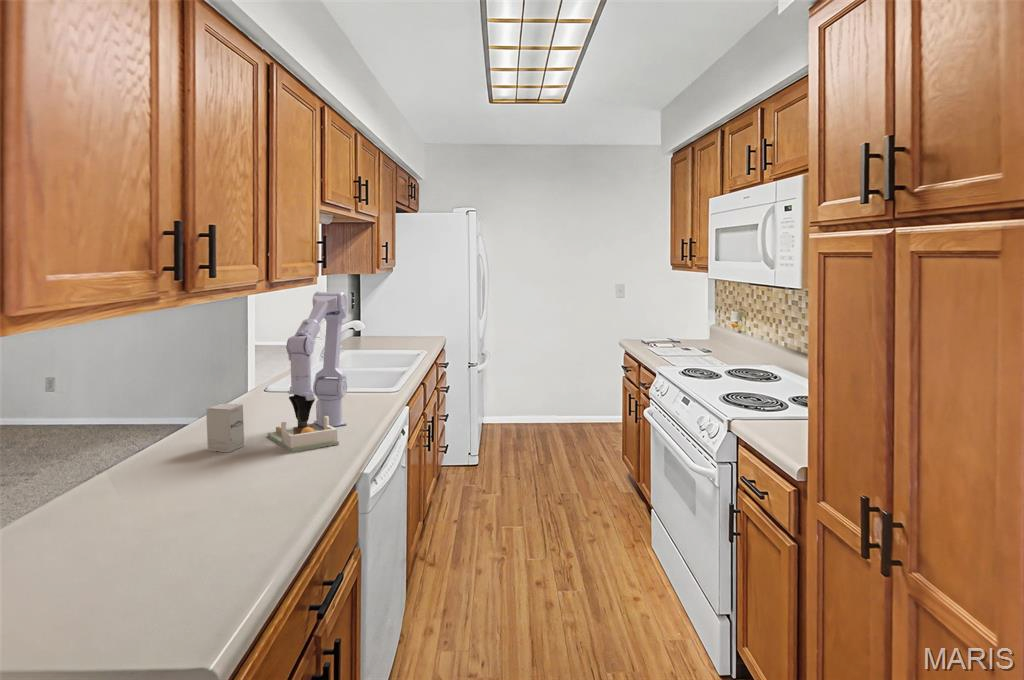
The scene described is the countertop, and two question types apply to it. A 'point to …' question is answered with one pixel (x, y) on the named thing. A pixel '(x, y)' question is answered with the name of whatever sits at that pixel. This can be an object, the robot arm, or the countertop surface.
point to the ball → (307, 430)
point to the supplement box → (225, 427)
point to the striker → (300, 426)
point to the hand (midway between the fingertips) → (302, 419)
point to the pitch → (305, 437)
